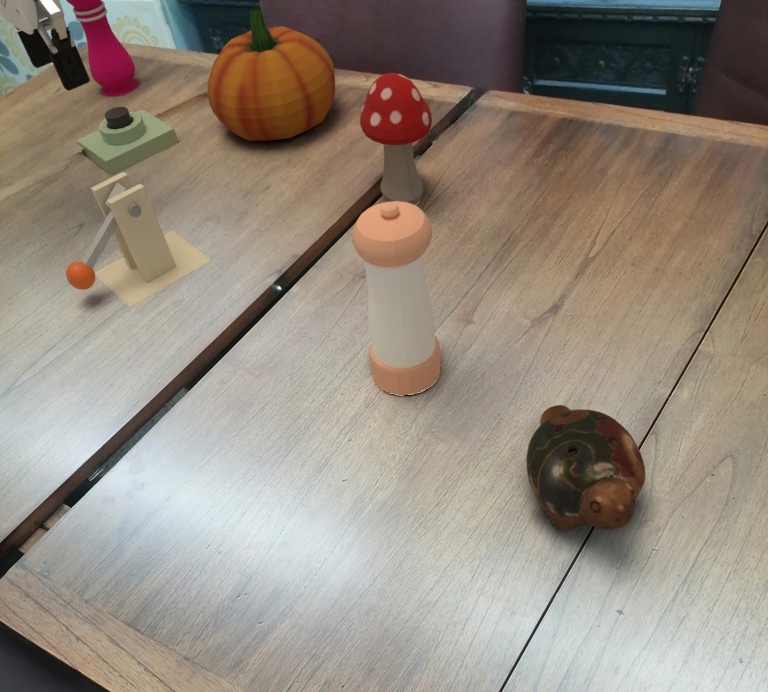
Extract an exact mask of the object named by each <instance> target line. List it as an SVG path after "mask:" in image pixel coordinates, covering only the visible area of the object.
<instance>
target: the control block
mask: <svg viewBox="0 0 768 692" xmlns="http://www.w3.org/2000/svg"><path fill="white" fill-rule="evenodd" d="M129 114H130V116H131V119H132V123H131V124H130V125H129V126H127V127H125V128H121V129H110V128H109V125H108V123H107V121H106V118H105V117H104V119H103V120H102V121H101V122H100V123H99V126H98V129H97V130H95V131H93V132H91V133H89V134H87V135H84V136H82V137H81V138H79V139H76V142H77V145H79V146H80V147H81V148H82V149H81V150H80V151H81V153H82V154H83V155H84V156H85V157H86V158H88V159H89V160H91V161H92V162H93V163H95V164H96V165H97V166H99V167H100V168H102V170H104V171H106V172H107V173H108V174H110V175H111V176H113V175H115V174H118V173H119V172H121V171H123V170H126V169H128V168H129V167H131V166H133V165H135V164H137V163H139V162H141V161H143V160H145V159H147V158H149V157H151V156H154V155H155V154H157V153H159V152H161V151H164V150H166V149H167V148H169V147H171V146H173V145H176V144H177V143H179V139H178V136H177V134H176V130H175V128H174V127H173V126H171V125H169V124H168V123H166V122H165V121H162V120H161V119H159V118H158V117H156V116H154V115H153V114H151V113H149V112H148V111H146V110H145V109H143V108H142V109H140V110H138V111H129Z"/></svg>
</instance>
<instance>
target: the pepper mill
mask: <svg viewBox="0 0 768 692" xmlns="http://www.w3.org/2000/svg"><path fill="white" fill-rule="evenodd" d="M65 1H66V2H67V3H68V4H69V5H71V6H72V7H73V8H72V12H73V14H74V16H75V20H76V21H78V22H80V23H79V24H80V25H81V27H82V29H83V32H84V35H85V38H86V44H87V58H88V61H87V62H88V67H89V71H90V74H91V77H92V79H93V81H94V82H95V83H97V84H98V85H99V86H101V87H102V88H101V93H102V95H104V96H107V97H119V96H123V95H126V94H128V93H130V92H132V91H133V90H135V89H136V88H137V87H138V84H139V82H138V80H137V79H135V78H134V77H135V73H136V66H135V62H134V61H133V58H132V57H131V55H130V54H129V52H128V51H127V49H126V48H125V47H124V45H123V44H122V43H121V42H120V40H119V39H118V38H117V36H116V35H115V33H114V32H113V29H112V28H111V27H112V26H111V25H110V23H109V20H108V16H107V13H108V9H107V8H106V6H105V5H106V4H105V2H104V1H103V0H65Z"/></svg>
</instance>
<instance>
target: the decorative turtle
mask: <svg viewBox="0 0 768 692" xmlns="http://www.w3.org/2000/svg"><path fill="white" fill-rule="evenodd" d="M539 424H540V425H539V426H538V427H537V429H536V430H535V431H534V433H533V435H532V437H531V438H530V440H529V443H528V446H527V452H526V472H527V478H528V482H529V485H530V487H531V489H532V492H533V494H534V495H535V497H536V500H537V501H538V502H539V504H540V505H541V507H542V509H543V512H544V513H545V514H546V515H547V517H548V519H549V520H550V522H551V524H552V526H553V527H554V528H555V529H557V528H558V529H557V530H559V529H561V530H560V531H565V530H569V529H572V528H574V527H576V526H579V525H580V526H581V525H587V526H590V527H593V528H596V529H599V530H603V531H604V530H605V531H615V530H618V529H623V528H624V527H627V525H629V524H630V522H631V520H632V518H633V516H634V512H635V508H636V499H637V498H638V496H639V494H640V493H641V491H642V489H643V487H644V485H645V483H646V482H645V481H646V466H645V462H644V459H643V456H642V453H641V451H640V448H639V447H638V444H637V442H636V441H635V440H634V438H633V436H632V434H631V433H630V432H629V431H628V430H627V429H626V428H625V427H624V426H623V425H622V424H621V423H620V422H619V421H617V419H615V418H614V417H612V416H610V415H608V414H606V413H604V412H601V411H597V410H593V409H579V408H577V409H570V408H569V407H567V406H566V405H563V404H556V405H553V406H551V407H548V408H547V409H545V410H544V411H543V412H542V414H541V415H540V420H539ZM572 452H574V453H575V454H572V455H571V453H572Z"/></svg>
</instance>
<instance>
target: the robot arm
mask: <svg viewBox="0 0 768 692" xmlns="http://www.w3.org/2000/svg"><path fill="white" fill-rule="evenodd" d="M0 16H1V17H2V18H3V19H4V20H5V21H7V22H8V23H9V24H11V25H12V26H14V28H15V29H16V30H17V35H18V37H19V39H20V41H21V43H22V45H23V48H24V49H25V52H26V54H27V57H28V58H29V61H30V63H31V64H32V66H33V67H34V68H36V69H39V68H42V67H44V66H47V65H48V64H51V63H52V64H53V67H54V69H55V71H56V73H57V76H58V78H59V80H60V83H61V84H62V87H63V88H64V90H66V91H72V90H75V89H77V88H79V87H82V86H84V85H86V84H89V83H90V80H91V79H90V76H89V73H88V71H87V69H86V66H85V64H84V61H83V59H82V57H81V55H80V53H79V50H78V48H77V45H76V41H75V40H74V38H73V36H72V35H71V30H69V27H68V26H67V24H66V21H65V12H64V9H63V6H62V3H61V1H60V0H0ZM49 30H50V34H49V33H48V31H49Z"/></svg>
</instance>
